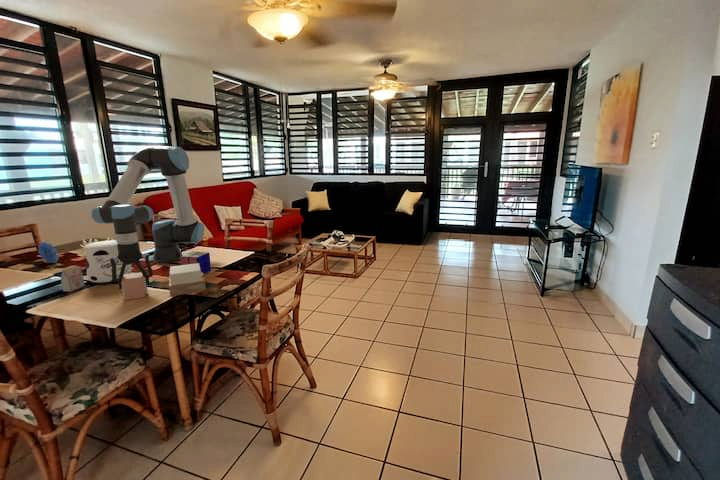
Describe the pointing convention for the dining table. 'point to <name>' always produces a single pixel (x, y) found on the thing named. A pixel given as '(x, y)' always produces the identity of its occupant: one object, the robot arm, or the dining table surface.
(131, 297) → the terracotta block
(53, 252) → the blue thick disc
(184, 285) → the tower base
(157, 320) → the dining table surface
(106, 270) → the milk container
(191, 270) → the tower top
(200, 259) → the puzzle cube
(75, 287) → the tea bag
